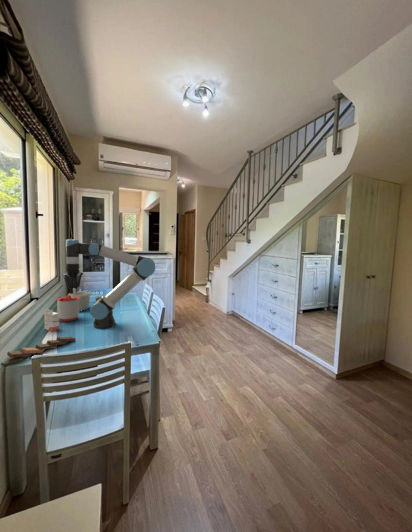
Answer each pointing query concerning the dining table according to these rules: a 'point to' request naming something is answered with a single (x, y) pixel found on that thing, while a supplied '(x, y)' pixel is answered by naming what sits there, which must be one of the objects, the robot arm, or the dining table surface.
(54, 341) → the domino
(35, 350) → the domino
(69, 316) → the citrus juicer
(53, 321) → the ink cartridge box
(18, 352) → the domino
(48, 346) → the domino
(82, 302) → the planter
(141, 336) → the dining table surface
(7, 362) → the domino
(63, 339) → the domino
